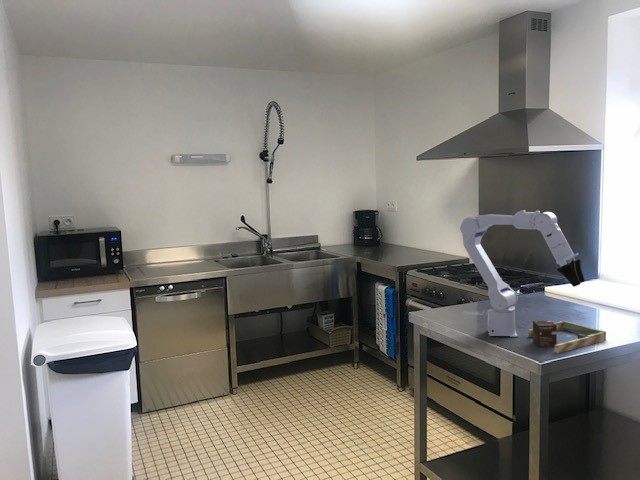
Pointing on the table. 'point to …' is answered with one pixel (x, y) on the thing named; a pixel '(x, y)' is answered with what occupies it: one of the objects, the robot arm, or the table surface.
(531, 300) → the table surface
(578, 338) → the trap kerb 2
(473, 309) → the table surface
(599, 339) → the wooden frame
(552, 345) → the box
